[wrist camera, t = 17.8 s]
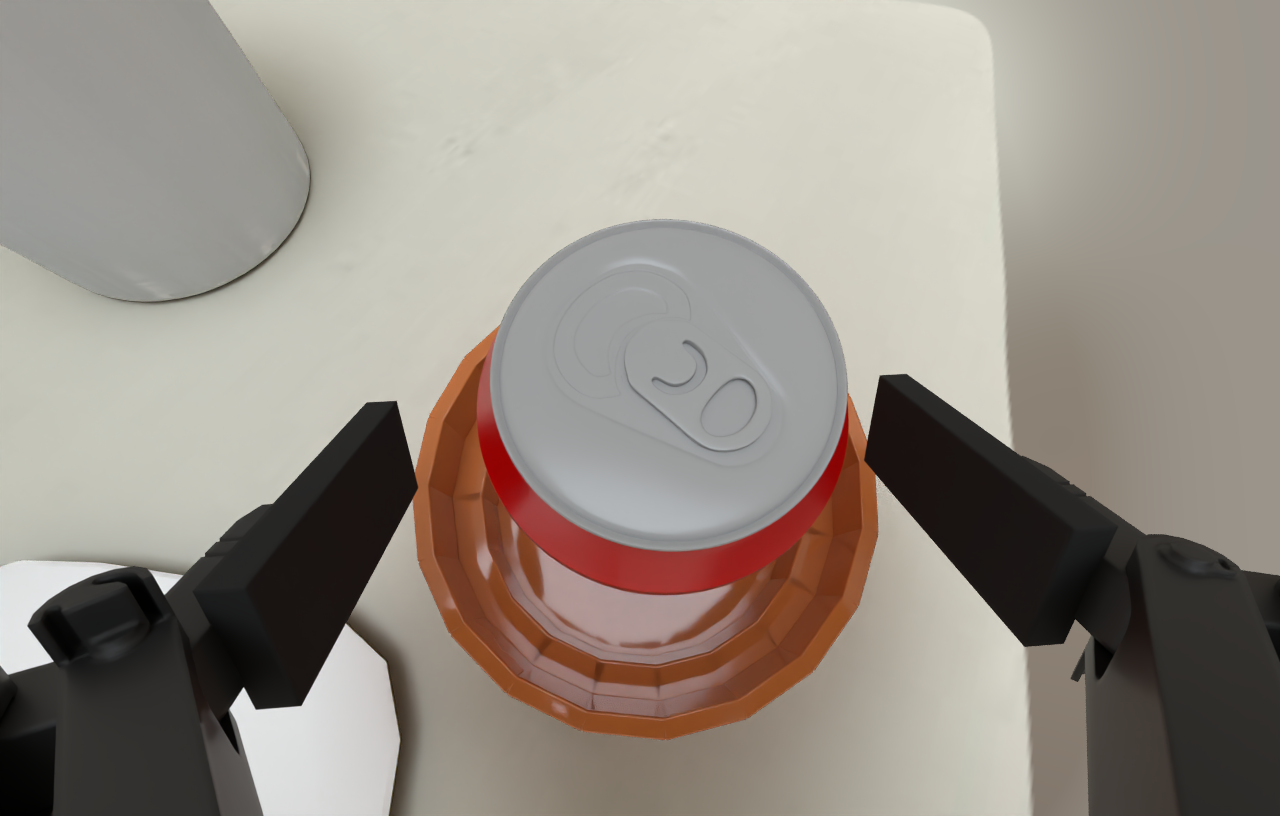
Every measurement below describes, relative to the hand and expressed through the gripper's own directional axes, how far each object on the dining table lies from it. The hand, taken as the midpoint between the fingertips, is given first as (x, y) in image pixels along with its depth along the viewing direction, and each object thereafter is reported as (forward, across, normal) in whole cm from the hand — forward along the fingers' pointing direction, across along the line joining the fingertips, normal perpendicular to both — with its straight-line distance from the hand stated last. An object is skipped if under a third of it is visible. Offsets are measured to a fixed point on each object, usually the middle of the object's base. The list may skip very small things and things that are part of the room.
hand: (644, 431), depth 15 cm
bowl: (+7, 0, -7) cm, 10 cm away
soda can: (+7, 0, -7) cm, 10 cm away
